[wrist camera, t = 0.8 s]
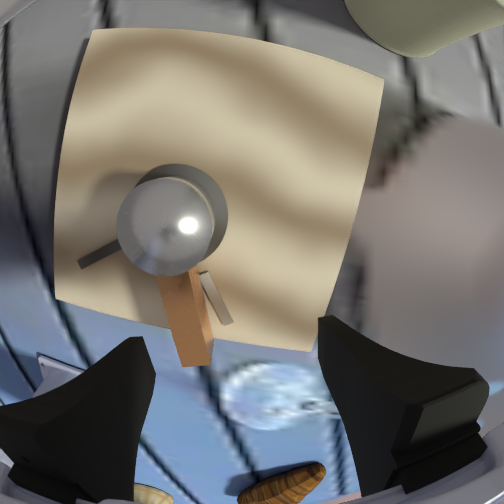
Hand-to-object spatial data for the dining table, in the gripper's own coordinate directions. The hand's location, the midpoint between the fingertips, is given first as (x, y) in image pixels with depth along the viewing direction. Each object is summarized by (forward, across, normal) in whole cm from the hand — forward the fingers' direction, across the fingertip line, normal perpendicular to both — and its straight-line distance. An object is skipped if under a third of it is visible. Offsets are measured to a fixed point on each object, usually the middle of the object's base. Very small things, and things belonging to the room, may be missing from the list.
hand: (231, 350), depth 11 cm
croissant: (+10, -1, +30) cm, 32 cm away
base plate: (+9, +1, -6) cm, 11 cm away
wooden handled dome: (+8, +3, -1) cm, 8 cm away
